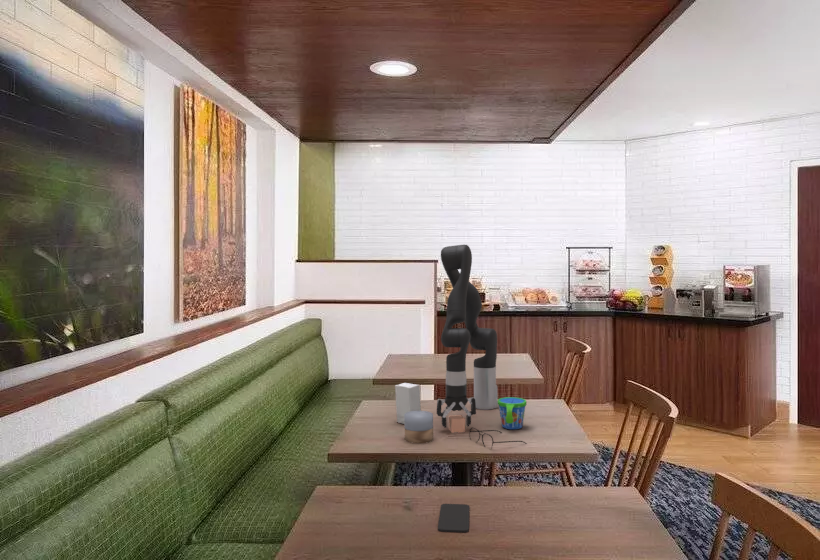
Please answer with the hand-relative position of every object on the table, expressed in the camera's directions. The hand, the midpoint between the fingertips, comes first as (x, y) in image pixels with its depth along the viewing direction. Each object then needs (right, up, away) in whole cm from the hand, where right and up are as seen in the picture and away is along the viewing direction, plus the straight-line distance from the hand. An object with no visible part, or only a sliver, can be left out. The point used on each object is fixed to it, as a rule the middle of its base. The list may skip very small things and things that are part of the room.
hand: (456, 426), depth 220 cm
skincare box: (-18, -1, +11) cm, 21 cm away
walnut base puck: (-14, -2, -9) cm, 17 cm away
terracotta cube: (0, -2, 0) cm, 2 cm away
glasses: (+13, -3, -13) cm, 19 cm away
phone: (-6, -5, -72) cm, 73 cm away
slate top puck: (-14, +2, -9) cm, 17 cm away
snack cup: (+21, -1, +3) cm, 21 cm away
